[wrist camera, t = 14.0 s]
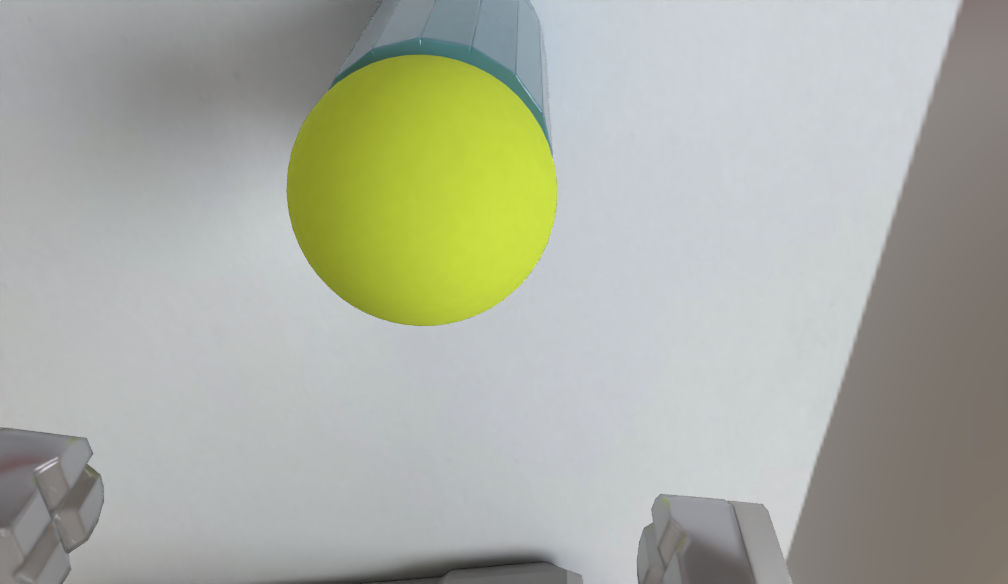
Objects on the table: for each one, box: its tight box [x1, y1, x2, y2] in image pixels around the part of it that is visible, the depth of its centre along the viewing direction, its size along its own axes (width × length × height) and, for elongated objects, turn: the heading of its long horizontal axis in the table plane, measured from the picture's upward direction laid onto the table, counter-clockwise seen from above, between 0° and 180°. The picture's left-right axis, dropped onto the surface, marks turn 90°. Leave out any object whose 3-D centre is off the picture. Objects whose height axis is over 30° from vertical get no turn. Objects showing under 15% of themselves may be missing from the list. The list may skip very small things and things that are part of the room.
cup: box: [328, 0, 553, 158], centre depth 22 cm, size 6×6×9 cm
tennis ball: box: [287, 55, 557, 326], centre depth 17 cm, size 6×6×6 cm
